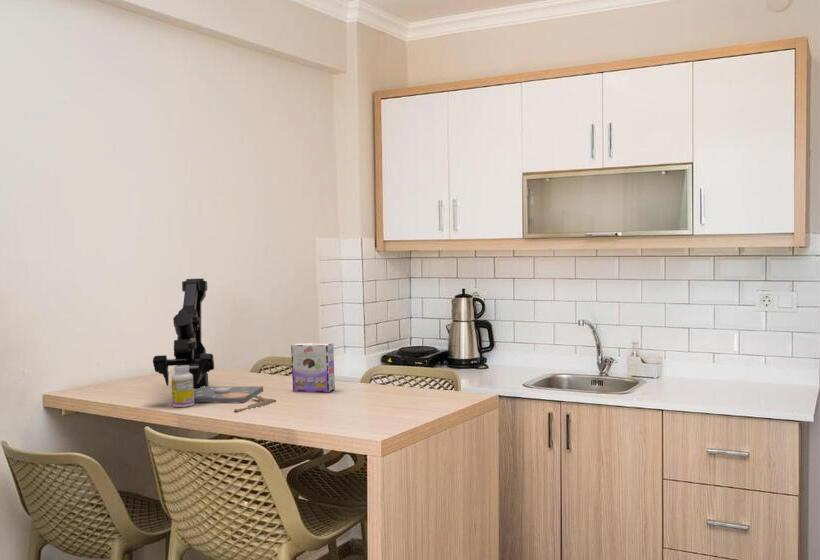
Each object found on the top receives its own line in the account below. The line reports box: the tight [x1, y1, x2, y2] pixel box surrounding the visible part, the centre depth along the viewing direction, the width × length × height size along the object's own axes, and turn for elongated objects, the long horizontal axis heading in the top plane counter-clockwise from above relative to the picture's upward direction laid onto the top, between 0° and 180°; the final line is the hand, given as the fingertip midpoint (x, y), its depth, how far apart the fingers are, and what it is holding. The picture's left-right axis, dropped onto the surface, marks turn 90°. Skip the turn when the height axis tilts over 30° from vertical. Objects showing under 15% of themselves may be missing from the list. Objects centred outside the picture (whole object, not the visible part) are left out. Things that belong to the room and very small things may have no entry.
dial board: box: [194, 386, 264, 404], centre depth 273 cm, size 22×21×3 cm
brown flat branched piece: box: [233, 395, 277, 413], centre depth 257 cm, size 9×20×2 cm, turn 175°
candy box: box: [290, 342, 336, 393], centre depth 280 cm, size 14×6×16 cm, turn 71°
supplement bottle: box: [171, 365, 195, 408], centre depth 259 cm, size 7×7×13 cm
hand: (182, 384), depth 257 cm, fingers open, 9 cm apart
